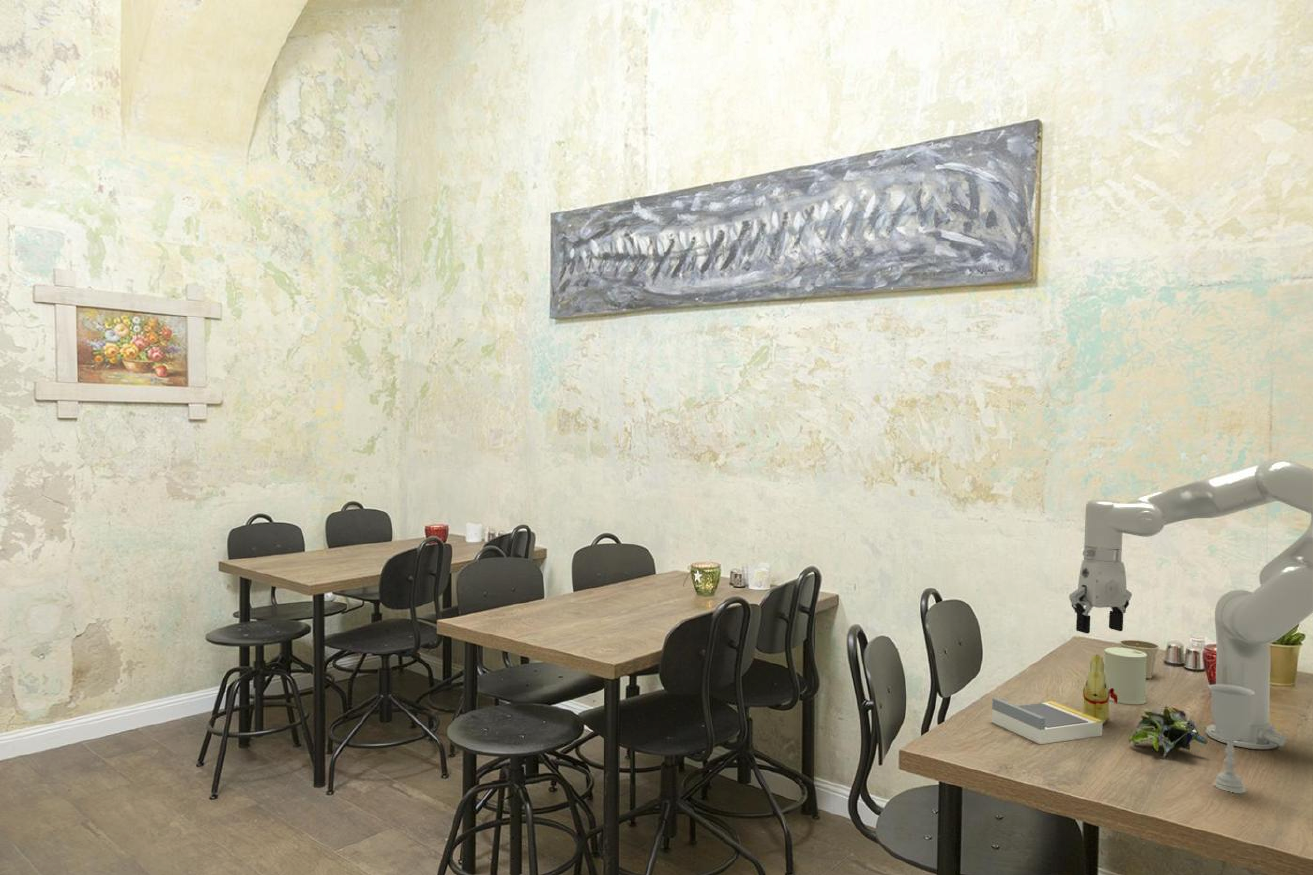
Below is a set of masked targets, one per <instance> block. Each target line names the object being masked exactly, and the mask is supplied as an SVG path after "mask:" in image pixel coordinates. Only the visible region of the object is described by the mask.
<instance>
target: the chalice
mask: <svg viewBox="0 0 1313 875" xmlns="http://www.w3.org/2000/svg"><path fill="white" fill-rule="evenodd" d="M1207 687H1208V689H1209V691H1210V693H1211V694H1210V695H1211V696H1210V698H1211V699H1210V701H1211V702H1210V715H1211V717H1212V720H1213V723H1214V724H1215V725H1216V727H1217V729H1218V731H1219V733H1220V735H1221V737H1222V738H1224V739H1226V740H1227V744H1226V747H1225V749H1224V751H1225V754H1226V757H1225V758H1224V759H1223V761H1224V762H1225V764H1226V765H1225V766H1226V768H1225V770H1223V771H1221V772H1219V773H1218V774H1217V775H1216V776H1217V777H1216V778H1214V779H1215V781H1214V782H1213V783H1212V786H1213V785H1215V786H1216V787H1218V788H1220V789H1223V790H1226V791H1225V792H1227V791H1230V792H1229V793H1232V792H1234V793H1233V794H1243V793H1242V792H1244V793H1246V792H1245V791H1247V790H1246V788H1245V786H1244V783H1243V781H1242V778H1241V777H1240V776H1239V775H1237V774H1236V773H1235V772H1234V768H1233V767H1234V764H1235V763H1236V760H1234V755H1235V753H1236V750H1235V748H1234V745H1233V743H1234V741H1237V740H1240V738H1241V737H1242V735H1243V733H1244V732H1245V730H1246V729H1247V727H1248V725H1249V722H1250V720H1251V698H1252V697H1253V696H1254V694H1255V692H1254V691H1252V690H1250V689H1247V688H1243V687H1239V686H1233V685H1224V684H1216V683H1215V684H1214V683H1213V684H1209V685H1208V686H1207ZM1215 786H1214V787H1215ZM1216 787H1215V788H1216ZM1218 788H1217V789H1218ZM1220 789H1219V790H1220ZM1223 790H1222V791H1223Z"/></svg>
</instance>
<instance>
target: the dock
mask: <svg viewBox="0 0 1313 875" xmlns="http://www.w3.org/2000/svg"><path fill="white" fill-rule="evenodd" d="M991 701H992V702H991V703H992V708H991V710H992V713H991V723H993V724H994V725H997V726H999V727H1001V728H1003V729H1005V730H1008V731H1010V732H1012V733H1014V734H1016V735H1019V736H1021V737H1023V738H1026V740H1027V739H1028V740H1029V741H1032V742H1033V743H1036V744H1039V745H1044V744H1046V745H1047V744H1052V743H1059V742H1066V741H1074V740H1080V739H1081V740H1082V739H1088V738H1096V737H1102V736H1103V725H1102V722H1103V721H1102V720H1099V719H1097V718H1094V717H1092V716H1089V715H1087V714H1084V712H1081V711H1080V710H1079V711H1078V710H1075V709H1073V708H1071V707H1068V706H1067V705H1063V704H1061V703H1059V702H1058V703H1057V702H1055V701H1053V700H1050V701H1049V700H1047V701H1046V702H1040V703H1038V702H1037V703H1030V704H1024V705H1016V704H1012V703H1010V702H1008V701H1006V700H1003V699H1001V698H998V697H993V698H992V700H991Z"/></svg>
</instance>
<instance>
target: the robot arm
mask: <svg viewBox="0 0 1313 875" xmlns="http://www.w3.org/2000/svg"><path fill="white" fill-rule="evenodd" d="M1274 502H1280V503H1282V504H1285V505H1287V506H1290V507H1293V508H1295V509H1298V510H1301V511H1303V512H1306V513H1309V514H1310V515H1311V516H1310V523H1309V525H1308V527H1307V529H1306V530H1305V531H1304V533H1303V534H1302V535H1301V536H1300V537H1299V538H1298V539H1297V540H1295V541H1294V542H1293V543H1291V545H1289V546H1288V547H1287V548H1286V549H1284V550H1283V551H1281V553H1280V554H1278V555H1277V556H1276V557H1274V558H1273V559H1272V560H1271V561H1269V562H1268V563H1266V565H1264V566H1263V568H1262V569H1261V570H1260V572H1259V577H1258V578H1259V584H1260V585H1259V586H1258V587H1257V588H1256V589H1255V590H1254V591H1253V592H1252V591H1249V590H1245V589H1236V590H1235V589H1234V590H1231V591H1228V592H1226V593H1225V594H1223V595H1222V596H1221V597H1219V599H1218V601H1217V602H1216V605H1215V608H1214V622H1215V623H1214V624H1215V625H1214V626H1215V637H1216V662H1215V664H1216V665H1215V684H1224V685H1233V686H1239V687H1243V688H1247V689H1250V690H1252V691H1254V692H1255V694H1254V696H1253V697H1252V698H1251V720H1250V722H1249V725H1248V727H1247V729H1246V730H1245V732H1244V733H1243V735H1242V737H1241V738H1240V740H1237V741H1234V743H1233V747H1238V748H1244V749H1252V750H1272V749H1275V748H1277V747H1278V746H1280V747H1283V746H1284V745H1285V744H1286V741H1287V739H1288V738H1287V735H1286V734H1284V733H1280V732H1276V730H1275V724H1274V723H1271V722H1270V703H1271V702H1270V697H1271V696H1270V695H1271V692H1270V691H1271V690H1270V689H1271V665H1272V664H1271V660H1272V658H1271V644H1272V643H1274V642H1276V641H1278V640H1279V639H1281V638H1283V637H1284V636H1285V635H1286V634H1287V633H1289V632H1291V630H1293V629H1294V628H1295V627H1296V626H1299V624H1300V623H1302V622H1303V621H1305V619H1307V618H1308V617H1310V615H1312V614H1313V468H1311V467H1308V466H1306V465H1303V464H1301V463H1297V462H1295V461H1291V460H1284V459H1283V460H1281V459H1270V460H1264V461H1261V462H1257V463H1255V464H1254V463H1253V464H1251V465H1248V466H1244V467H1241V468H1237V469H1235V470H1232V471H1229V472H1228V471H1227V472H1225V473H1221V474H1218V475H1215V476H1211V477H1206V478H1204V479H1201V480H1197V481H1194V482H1191V483H1187V484H1184V485H1181V486H1177V487H1173V488H1170V489H1169V488H1168V489H1166V490H1162V491H1158V492H1155V493H1151V494H1147V495H1146V496H1142V497H1138V498H1135V499H1133V500H1130V501H1128V502H1127V503H1121V502H1120V501H1116V500H1111V499H1091V500H1089V501H1087V503H1086V505H1085V518H1084V520H1085V521H1084V523H1085V524H1084V541H1083V542H1084V543H1083V544H1084V545H1083V552H1082V556H1083V560H1082V561H1081V565H1080V571H1079V575H1078V576H1079V577H1078V584H1077V585H1078V586H1077V589H1076V590H1074V591H1073V592H1072V593H1070V594H1069V596H1068V597H1069V601H1070V603H1071V607H1072V608H1073V610H1074V613H1075V614H1076V620H1075V622H1076V627H1075V629H1076V631H1077V632H1080V633H1083V634H1090V633H1091V615H1090V612H1091V610H1093V607H1094V608H1101V609H1102V608H1111V610H1109V614H1108V615H1109V616H1108V617H1109V618H1108V628H1109V629H1110V630H1113V631H1117V632H1123V630H1124V614H1126V611H1127V610H1126V609H1127V608H1128V606H1129V605H1130V600H1131V598H1132V595H1133V594H1132V591H1131V592H1130V591H1129V589H1127V575H1126V569H1125V563H1124V562H1123V561H1122V554H1123V534H1126V535H1133V536H1137V537H1153V536H1155V535H1157V534H1159V533H1160V532H1162V530H1163V529H1164V526H1166V525H1170V524H1174V523H1178V522H1181V521H1183V522H1184V521H1186V520H1193V519H1213V518H1221V517H1225V516H1227V515H1232V514H1234V513H1237V512H1238V513H1239V512H1241V511H1245V510H1248V509H1252V508H1256V507H1261V506H1263V505H1268V504H1270V503H1274ZM1205 728H1206V730H1205V731H1206V735H1207V736H1208V737H1210V738H1211V739H1213V740H1215V741H1218V742H1220V743H1222V744H1226V745H1227V740H1226V739H1224V738H1222V737H1221V735H1220V733H1219V731H1218V729H1217V727H1216V725H1215V723H1214V724H1209V725H1207V727H1205Z"/></svg>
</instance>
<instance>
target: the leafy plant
mask: <svg viewBox="0 0 1313 875" xmlns="http://www.w3.org/2000/svg"><path fill="white" fill-rule="evenodd" d="M1143 712H1144V714H1145V715H1146V716H1145V715H1143V714H1141V715H1140V718H1141V720H1140V721H1139V722H1138V723H1137V725H1136V730H1135V731H1134V732H1132V734H1131V735H1130V736H1129V737H1128V742H1129V743H1131V742H1132V744H1133V746H1134V747H1135V746H1137V745H1138V744H1139V743H1141V742H1145V741H1149V740H1152V746H1153V748H1154V750H1155V751H1156V752H1159V743H1160V741H1161V742H1162V743H1163V745H1162V748H1163V749H1164V753H1163V756H1162V757H1161V759H1162V760H1164V758H1165V757H1166V756H1167V754H1168V753H1169V752H1170V750H1171V749H1174V750H1175V751H1177V750H1178V751H1179V750H1180V749H1181V748H1182V749H1185V750H1188V751H1189V750H1190V749H1191V744H1190V743H1191V742H1193V741H1194V740H1195V741H1196V742H1199V743H1201V744H1203V745H1206V744H1208V740H1207V739H1206V738H1204V737H1203V736H1201V735H1200V734H1199V731H1198V728H1196V724H1195V721H1192V719H1188V717H1187V714H1186V712H1185V710H1180V709H1179V708H1177V707H1175V706H1172V707H1169V706H1164V708H1163V709H1162V710H1161V711H1160V710H1159V709H1154V710H1152V711H1151V710H1149V709H1146V708H1145V709H1144V710H1143ZM1187 719H1188V720H1187Z"/></svg>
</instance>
